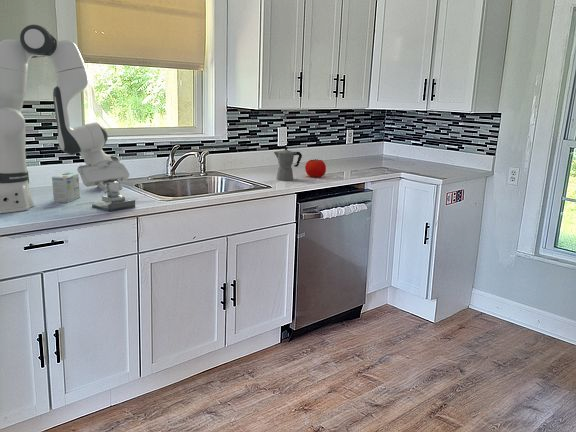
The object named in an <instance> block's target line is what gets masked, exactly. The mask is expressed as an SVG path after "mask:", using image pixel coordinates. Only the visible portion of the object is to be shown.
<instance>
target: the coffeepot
mask: <svg viewBox="0 0 576 432" xmlns="http://www.w3.org/2000/svg"><path fill="white" fill-rule="evenodd" d="M273 154H274V156H276V158H277V162H278V169H277V174H276V179H277V180H278V181H282V182H290V181H293V180H294V175H293V173H294V172H293V168H292V165H293V163H294V157H295V156H298V158H297V160H296V164H294V165H293V166H294V167H299V164H300V162H301V159H302V158H303V154H302V153H301V151H292V150H291V151H290V150H288V146H284V149H283V150H278V151H274V152H273Z"/></svg>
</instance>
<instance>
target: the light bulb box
mask: <svg viewBox="0 0 576 432" xmlns="http://www.w3.org/2000/svg"><path fill="white" fill-rule="evenodd" d="M79 175H80V174H79V172H77V173H76V172H63V173H59V174H57V175H55V176H52V177H51V181H52V183H51V184H52V196H53V202H54V203H67V204H68V203H70V202H72V201H74V200H78V199H79V198H80V197H81V191H80V189H81V188H80V176H79Z"/></svg>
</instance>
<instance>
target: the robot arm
mask: <svg viewBox="0 0 576 432" xmlns="http://www.w3.org/2000/svg"><path fill="white" fill-rule="evenodd" d="M45 57H47V58H49V59H50V60H51V63H52V64H53V66H54V70H55V73H56V77H57V82H56V83H57V84H56V86H55V87H54V88H53V92H52V98H53V105H54V114H55V120H56V127H57V141H58V146H59V148H60V150H61V151H62V152H63V153H66V154H67V155H70V156H74V155H77V154H80V156H81V157H82V158H83V160H84V163H85V165H78V167H77V169H76V170H77V173H79V175H80V176H79V177H80V179H81V181H82V183H83V185H84V186H85V187H94V186H97V185H98V186H97V187H98V188H99V189H101V190H102V191H103V192H104V193H105V194H107V192H109V191H110V189H109V188H108V187H106V186H105V185H103V184H107V181H108V180H112V181H119V191H122V190H123V186H122V182H126V181H127V180H128V179H129V177H130V172H129V171H128V169H127V167H126V166H125V164H123V163H122V162H121V159H120V157H119V156H115V155H110V154H107V153H106V152H104V150H103V148H104V147H105V146H106V144H107V141H108V139H109V137H108V133H107V131H106V128H105V127H104V126H103V125H102V124H100V123H98V122H91V123H86V124H84V125H80V126H79V125H78V126H74V127H71V125H70V124H71V123H70V117H69V110H68V106H69V103H70V101H71V100H72V99H74V98H75V97H76V96H78V95H80V94H81V93H82V92H83V91H84V90H85V89H86V88H87V86H88V85H89V84H88V83H89V74H88V70H87V68H86V65H85V62H84V59H83V57H82V55H81V52H80V50H79V48H78V46H77V44H75V43H74V42H73V41H71V40H64V39H62V40H57V39H56V38H55V37H54V36H53V34H52V33H51V32H50V31H49V30H48V29H47V28H45V27H44V26H42V25H39V24H29V25H26V26H25V27H23V29H22V30H21V32H20V33H19V39H13V38H11V39H9V38H8V39H7V38H6V39H4V40H1V41H0V214H5V213H6V214H7V213H14V212H23V211H28V210H30V208H33V207H34V206H35V203H34V200H33V197H32V194H31V191H30V186H29V183H30V177H29V170H28V168H27V167H28V166H27V156H26V155H27V154H26V141H27V140H26V135H27V134H26V133H27V132H26V120H25V117H24V115H23V114H22V112H23V106H24V100H25V97H26V93H27V92H26V91H27V83H28V81H27V80H28V71H29V70H28V69H29V62H30V60H31V59H32V58H33V59H36V58H45Z"/></svg>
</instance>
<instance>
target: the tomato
mask: <svg viewBox="0 0 576 432" xmlns="http://www.w3.org/2000/svg"><path fill="white" fill-rule="evenodd" d="M304 169H305V172H306V175H307V176H308V177H311V178H322V177H324V176H325V174H326V172H327V165H326V162H324V161H323V160H322V159H319V158H317V159H310V160H308V161H307V162H306V163H305V167H304Z"/></svg>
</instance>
